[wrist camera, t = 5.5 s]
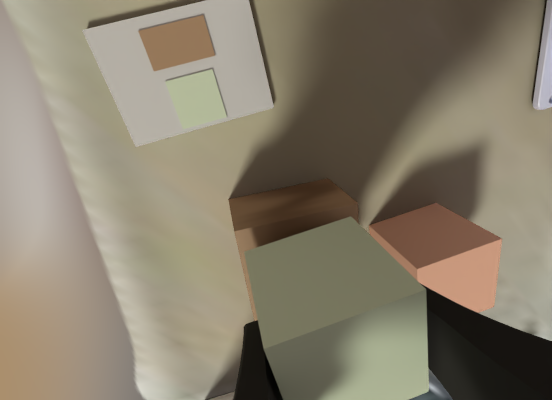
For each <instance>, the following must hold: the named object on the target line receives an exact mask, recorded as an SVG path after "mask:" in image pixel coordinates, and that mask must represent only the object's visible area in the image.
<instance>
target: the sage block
mask: <svg viewBox="0 0 552 400" xmlns="http://www.w3.org/2000/svg"><path fill="white" fill-rule="evenodd" d="M244 254H245V259H246V264H247V269H248V274H249V279H250V284H251V289H252V294H253V299H254V304H255V309H256V314H257V319H258V324H259V328H260V333H261V338H262V343H263V348H264V351H265V354H266V356H267V359H268V362H269V364H270V367H271V369H272V372H273V374H274V377H275V380H276V382H277V385H278V387H279V390H280V393H281V395H282V398H283V400H408V399H411V398H413V397H416V396H418V395H421V394H423V393H426V392H428V391H429V379H428V340H427V301H426V289H425V288H424V287H423V286H422V285H421V284H420V283H419V282H418V281H417V280H416V279H415V278H414V277H413V276H412V275H411V274H410V273H409V272H408V271H407V270H406V269H405V268H404V267H403V266H402V265H401V264H400V263H398V262H397V261H396V260H395V259H394V258H393V257H392V256H391V255H390V254H389V253H388V252H387V251H386V250H385V249H384V248H383V247H382V246H381V245H380V244H379V243H378V242H377V241H376V240H375V239H374V238H373V237H372V236H371V235H370V234H369V233H368V232H367V231H366V230H365V229H363V228H362V227H361V226H360V225H359V224H358V223H357V222H356V221H355V220H354V219H353V218H352V217H351V216H350V217H347V218H344V219H341V220H338V221H335V222H332V223H329V224H326V225H323V226H320V227H317V228H314V229H311V230H308V231H305V232H302V233H299V234H296V235H293V236H290V237H287V238H284V239H281V240H278V241H275V242H272V243H269V244H266V245H263V246H260V247H257V248H254V249H251V250H248V251H245V252H244Z"/></svg>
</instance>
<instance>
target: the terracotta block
mask: <svg viewBox="0 0 552 400" xmlns="http://www.w3.org/2000/svg"><path fill="white" fill-rule="evenodd" d="M369 231H370V235H371V236H372V237H373V238H374V239H375V240H376V241H377V242H378V243H379V244H380V245H381V246H382V247H383V248H384V249H385V250H386V251H387V252H388V253H389V254H390V255H391V256H392V257H393V258H394V259H395V260H396V261H397V262H398V263H400V264H401V265H402V266H403V267H404V268H405V269H406V270H407V271H408V272H409V273H410V274H411V275H412V276H413V277H414V278H415V279H416V280H417V281H418V282H419V283H420V284H422V285H424V286H426V287H428V288H429V289H431V290H433V291H435V292H437V293H439V294H441V295H443V296H444V297H446V298H448V299H450V300H452V301H454V302H456V303H458V304H460V305H462V306H464V307H466V308H468V309H470V310H473V311H475V312H477V313H479V312H481V311H484V310H487V309H489V308H492V307H494V303H495V294H496V286H497V277H498V269H499V261H500V252H501V244H502V238H500V237H498V236H496V235H494V234H493V233H491V232H489V231H487V230H485V229H483V228H482V227H480V226H478V225H476V224H474V223H472V222H470V221H469V220H467V219H465V218H463V217H461V216H459V215H458V214H456V213H454V212H452V211H450V210H448V209H447V208H445V207H443V206H441V205H439V204H437V203H434V204H431V205H428V206H425V207H422V208H419V209H416V210H413V211H410V212H407V213H404V214H401V215H398V216H395V217H392V218H389V219H386V220H383V221H380V222H377V223H374V224H371V225H369Z"/></svg>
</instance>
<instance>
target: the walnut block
mask: <svg viewBox="0 0 552 400" xmlns="http://www.w3.org/2000/svg"><path fill="white" fill-rule="evenodd" d="M229 205H230V210H231V216H232V221H233V227H234V232H235V236H236V241H237V245H238V250H239V254H240V259H241V263H242V267H243V272H244V276H245V281H246V285H247V290H248V294H249V299H250V303H251V308H252V312H253V316H254V321H256V320H258V319H257V314H256V309H255V304H254V299H253V294H252V289H251V284H250V279H249V274H248V269H247V264H246V259H245V254H244V252H245V251H248V250H251V249H254V248H257V247H260V246H263V245H266V244H269V243H272V242H275V241H278V240H281V239H284V238H287V237H290V236H293V235H296V234H299V233H302V232H305V231H308V230H311V229H314V228H317V227H320V226H323V225H326V224H329V223H332V222H335V221H338V220H341V219H344V218H347V217H350V216H351V217H352V218H353V219H354V220H355V221H356V222H357V223H358V224H359V220H358V203H357V202H356V201H355V200H354V199H352V198H351V197H350V196H349V195H348V194H346V193H345V192H344V191H343V190H342V189H340V188H339V187H338V186H337V185H336V184H334V183H333V182H332V181H331V180H330V179H328V178H327V179H323V180H318V181H313V182H308V183H304V184H299V185H294V186H289V187H284V188H280V189H275V190H270V191H265V192H261V193H256V194H251V195H246V196H242V197H237V198H232V199H229Z"/></svg>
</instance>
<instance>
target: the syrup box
mask: <svg viewBox="0 0 552 400" xmlns="http://www.w3.org/2000/svg"><path fill="white" fill-rule="evenodd" d="M234 393H235V392H231V393H228V394H225V395H222V396H218V397H215V398H212V399H209V400H233V397H234Z"/></svg>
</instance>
